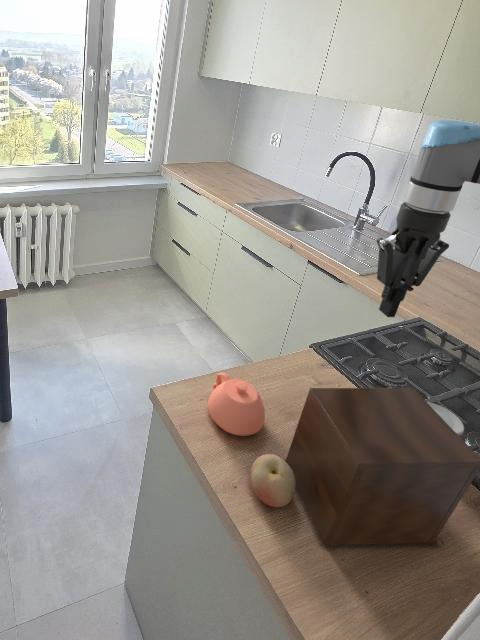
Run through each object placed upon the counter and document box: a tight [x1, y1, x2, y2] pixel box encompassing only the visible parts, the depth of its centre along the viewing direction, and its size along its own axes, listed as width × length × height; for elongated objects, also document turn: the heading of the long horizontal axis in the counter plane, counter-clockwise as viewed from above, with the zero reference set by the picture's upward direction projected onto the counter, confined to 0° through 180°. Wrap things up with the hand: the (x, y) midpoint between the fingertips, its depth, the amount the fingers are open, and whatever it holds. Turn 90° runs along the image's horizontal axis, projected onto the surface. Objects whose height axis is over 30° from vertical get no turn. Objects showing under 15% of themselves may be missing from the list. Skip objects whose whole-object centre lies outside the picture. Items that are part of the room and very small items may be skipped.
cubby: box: [284, 387, 480, 546], centre depth 75 cm, size 20×15×21 cm
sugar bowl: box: [207, 371, 266, 437], centre depth 94 cm, size 12×14×10 cm
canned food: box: [426, 401, 465, 439], centre depth 87 cm, size 8×8×11 cm
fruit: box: [249, 453, 297, 508], centre depth 78 cm, size 8×8×8 cm
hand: (386, 313), depth 86 cm, fingers closed
